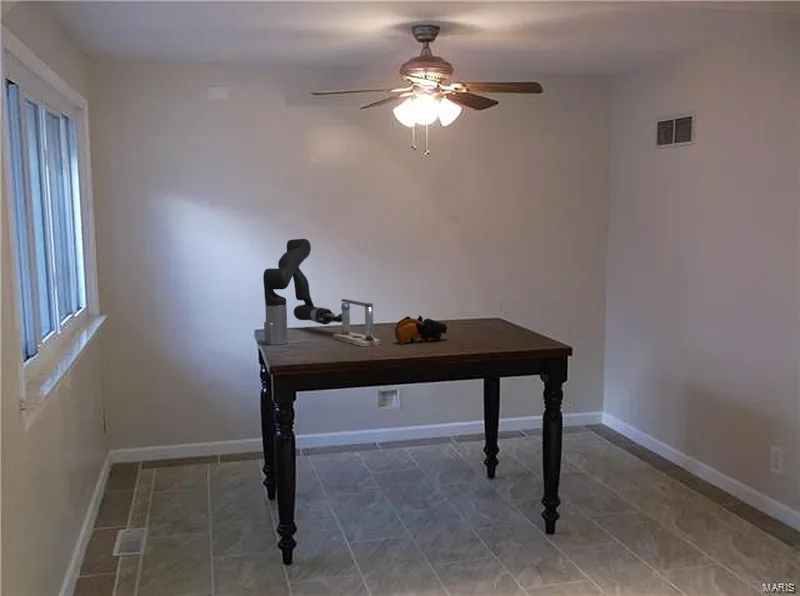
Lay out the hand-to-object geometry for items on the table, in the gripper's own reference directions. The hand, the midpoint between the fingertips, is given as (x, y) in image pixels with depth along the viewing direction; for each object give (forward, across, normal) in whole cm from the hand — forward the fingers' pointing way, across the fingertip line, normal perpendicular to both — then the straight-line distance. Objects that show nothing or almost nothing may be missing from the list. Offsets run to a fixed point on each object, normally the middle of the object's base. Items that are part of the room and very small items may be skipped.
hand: (340, 320), depth 352 cm
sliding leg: (+4, 0, +6) cm, 8 cm away
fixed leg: (+14, 0, +6) cm, 15 cm away
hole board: (+14, 0, +8) cm, 16 cm away
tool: (+32, +22, +8) cm, 40 cm away
